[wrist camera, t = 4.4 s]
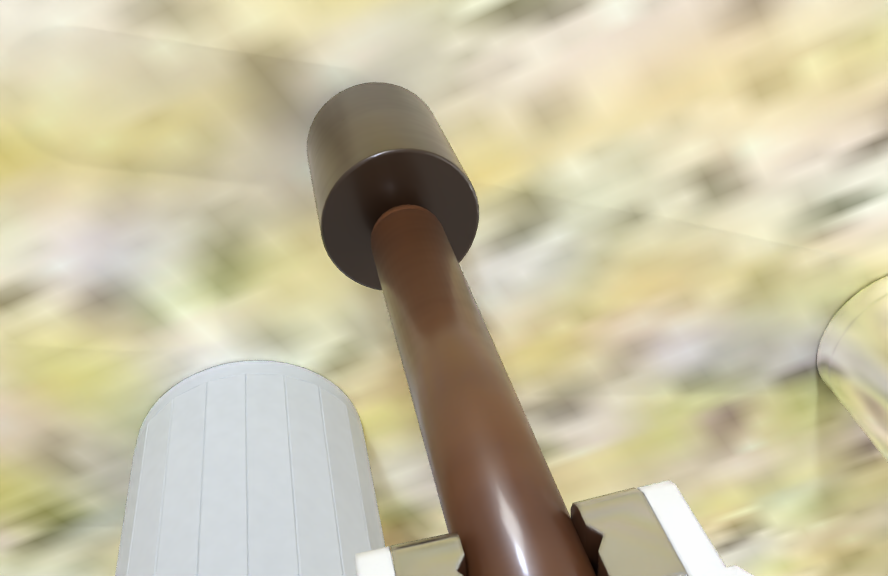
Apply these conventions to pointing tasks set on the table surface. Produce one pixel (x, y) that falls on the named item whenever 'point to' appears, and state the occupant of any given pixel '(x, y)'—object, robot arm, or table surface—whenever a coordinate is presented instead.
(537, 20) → the table surface
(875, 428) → the glass
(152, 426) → the grey hollow cylinder
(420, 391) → the brown pestle
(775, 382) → the table surface
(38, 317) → the table surface
